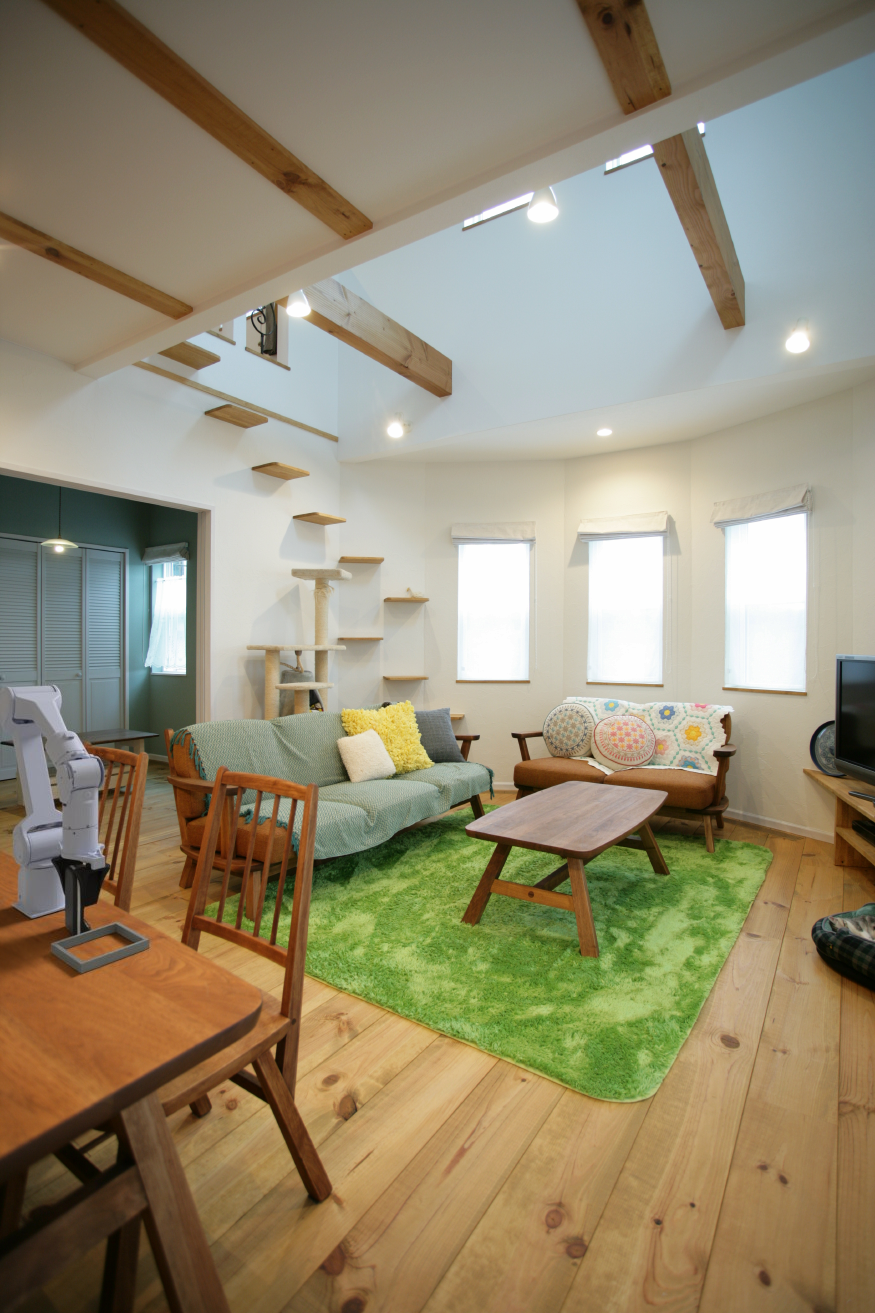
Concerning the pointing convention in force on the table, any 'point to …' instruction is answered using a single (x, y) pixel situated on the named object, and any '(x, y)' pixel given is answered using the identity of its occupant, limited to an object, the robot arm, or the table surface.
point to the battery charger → (74, 903)
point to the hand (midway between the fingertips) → (80, 899)
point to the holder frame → (80, 966)
